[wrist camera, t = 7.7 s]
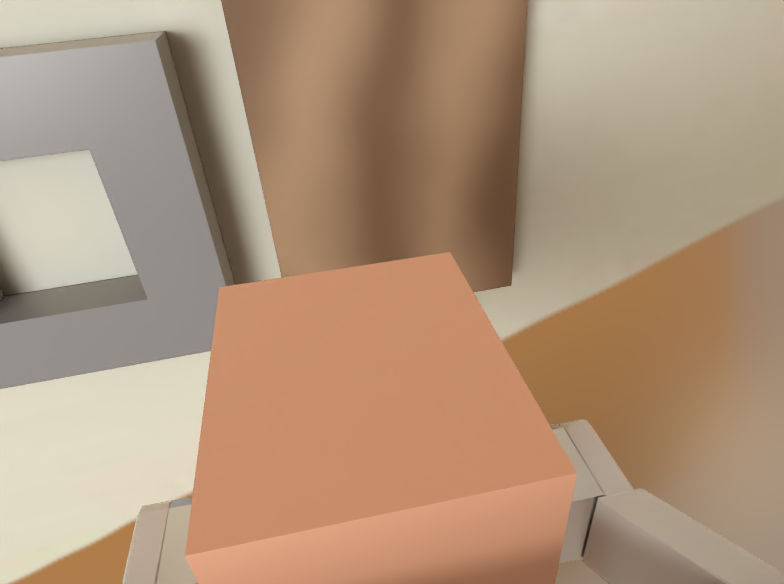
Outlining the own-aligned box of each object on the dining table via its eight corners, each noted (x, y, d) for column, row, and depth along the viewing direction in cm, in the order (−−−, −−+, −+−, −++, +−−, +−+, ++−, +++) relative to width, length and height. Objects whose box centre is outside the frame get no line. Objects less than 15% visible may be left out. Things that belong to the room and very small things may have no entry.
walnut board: (515, -62, 22) (530, -62, 21) (501, 271, 31) (511, 285, 30) (216, -34, 21) (213, -33, 20) (290, 308, 30) (292, 324, 28)
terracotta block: (449, 252, 12) (576, 473, 7) (450, 410, 15) (541, 648, 10) (219, 287, 11) (184, 556, 7) (265, 446, 14) (265, 718, 9)
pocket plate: (165, 30, 22) (154, 40, 19) (244, 316, 29) (242, 345, 27) (-233, 73, 20) (-291, 88, 18) (-37, 365, 27) (-61, 400, 25)
